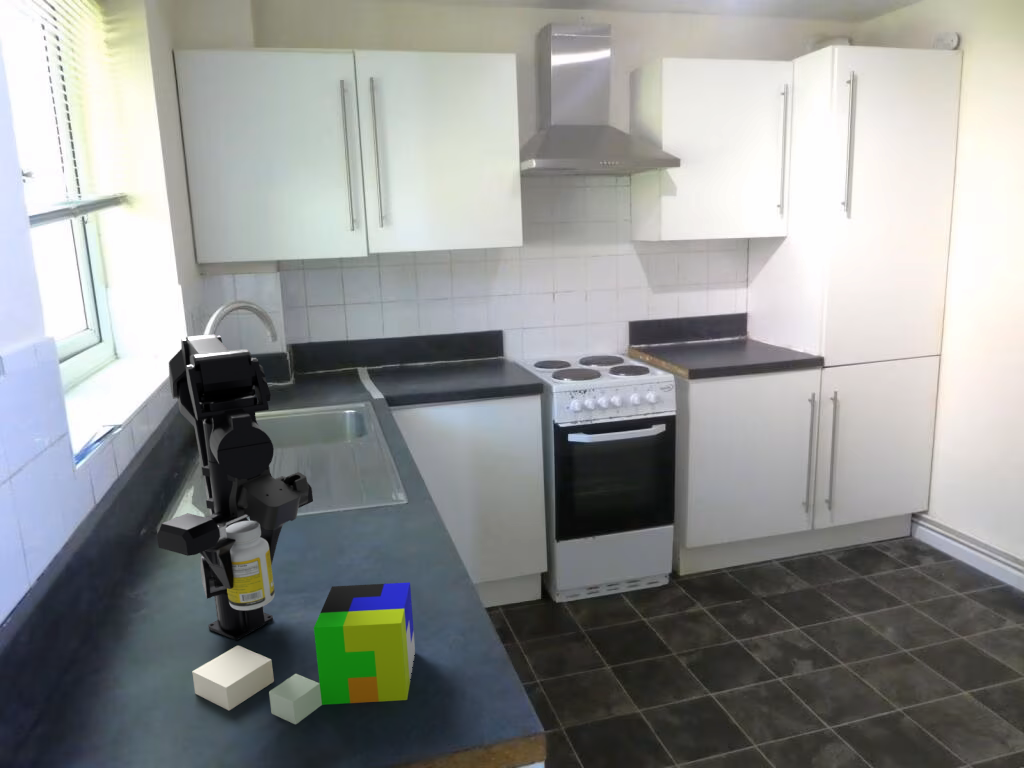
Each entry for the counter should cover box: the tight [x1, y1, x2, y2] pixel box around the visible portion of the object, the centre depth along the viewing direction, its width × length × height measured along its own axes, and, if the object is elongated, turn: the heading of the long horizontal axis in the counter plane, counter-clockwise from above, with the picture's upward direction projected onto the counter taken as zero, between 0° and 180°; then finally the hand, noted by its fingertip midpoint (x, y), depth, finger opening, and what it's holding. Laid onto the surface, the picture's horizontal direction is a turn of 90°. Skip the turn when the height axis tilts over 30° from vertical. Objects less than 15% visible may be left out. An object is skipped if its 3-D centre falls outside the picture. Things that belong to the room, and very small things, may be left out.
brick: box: [268, 673, 323, 725], centre depth 85 cm, size 4×4×3 cm
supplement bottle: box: [226, 520, 276, 610], centre depth 89 cm, size 5×5×10 cm
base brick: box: [191, 645, 275, 711], centre depth 89 cm, size 6×6×3 cm
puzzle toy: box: [313, 581, 416, 706], centre depth 90 cm, size 10×10×10 cm
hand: (248, 577), depth 90 cm, fingers closed on supplement bottle, 5 cm apart
